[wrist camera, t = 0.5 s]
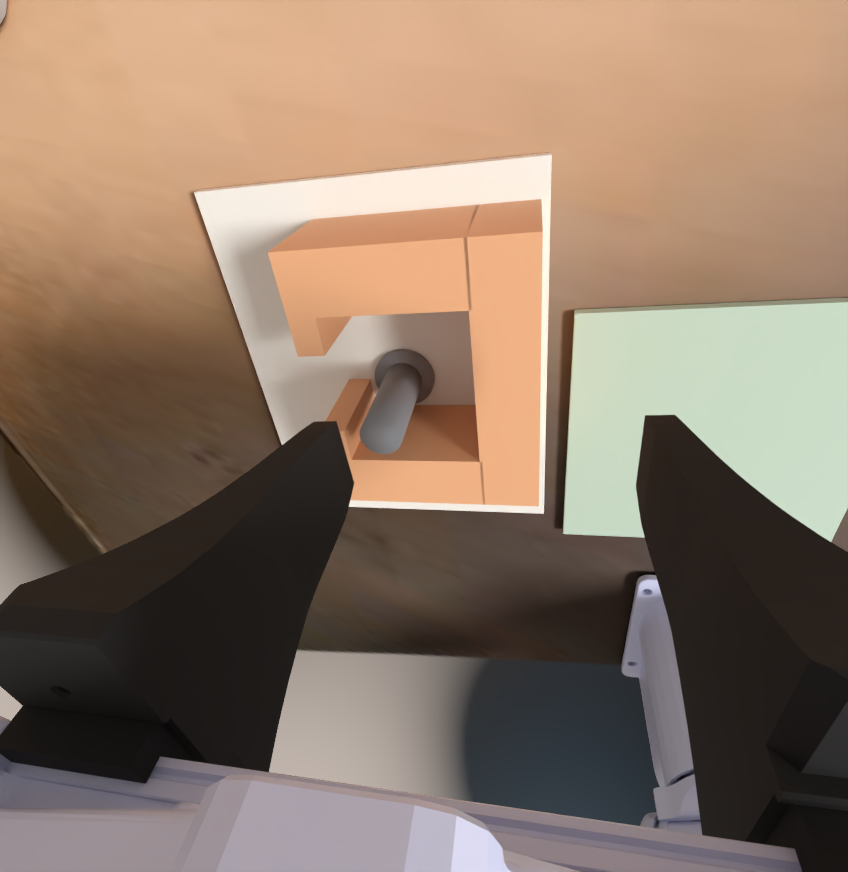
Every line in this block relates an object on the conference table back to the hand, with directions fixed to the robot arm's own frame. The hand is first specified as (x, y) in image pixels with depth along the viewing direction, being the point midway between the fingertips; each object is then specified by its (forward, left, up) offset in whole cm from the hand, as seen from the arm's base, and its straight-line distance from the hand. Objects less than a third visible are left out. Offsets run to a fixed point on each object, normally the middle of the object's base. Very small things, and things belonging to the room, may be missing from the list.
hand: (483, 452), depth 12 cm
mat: (-7, -9, -10) cm, 15 cm away
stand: (-3, +4, -10) cm, 11 cm away
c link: (-2, +3, -9) cm, 10 cm away
